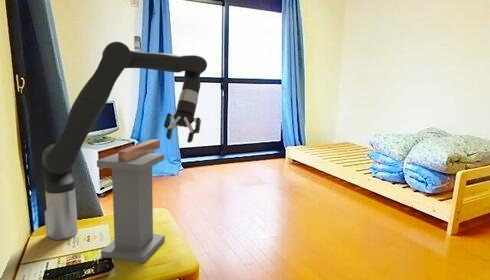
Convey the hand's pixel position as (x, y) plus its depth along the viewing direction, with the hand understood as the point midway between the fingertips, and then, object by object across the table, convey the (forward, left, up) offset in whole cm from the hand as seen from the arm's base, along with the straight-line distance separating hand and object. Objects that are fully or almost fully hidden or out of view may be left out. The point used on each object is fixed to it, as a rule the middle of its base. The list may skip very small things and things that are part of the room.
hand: (178, 140), depth 126 cm
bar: (-5, -20, -1) cm, 21 cm away
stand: (-5, -26, -33) cm, 42 cm away
